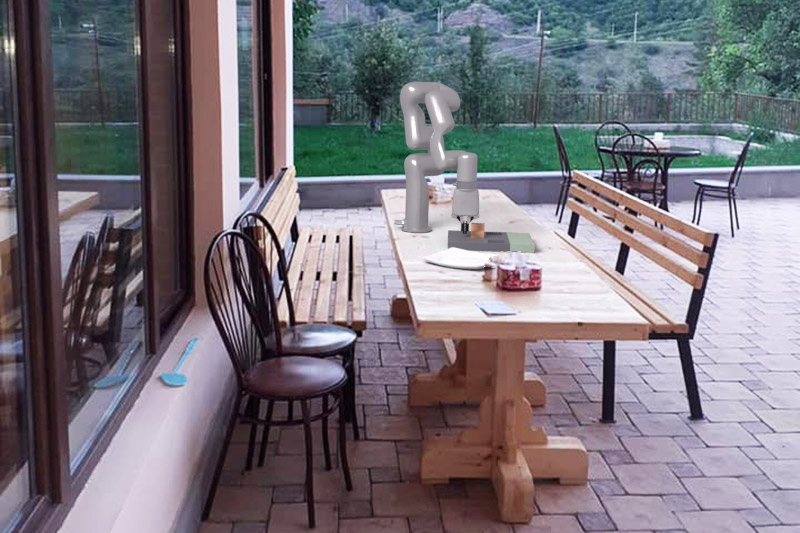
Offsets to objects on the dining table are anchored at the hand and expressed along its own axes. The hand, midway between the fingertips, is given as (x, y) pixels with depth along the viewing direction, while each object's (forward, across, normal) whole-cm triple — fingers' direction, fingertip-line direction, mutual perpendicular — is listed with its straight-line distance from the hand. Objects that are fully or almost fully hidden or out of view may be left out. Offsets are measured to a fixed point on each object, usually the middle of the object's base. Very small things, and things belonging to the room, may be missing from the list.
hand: (464, 233), depth 347 cm
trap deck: (+4, +10, 0) cm, 11 cm away
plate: (+5, 0, -33) cm, 33 cm away
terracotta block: (+1, +5, 0) cm, 5 cm away
